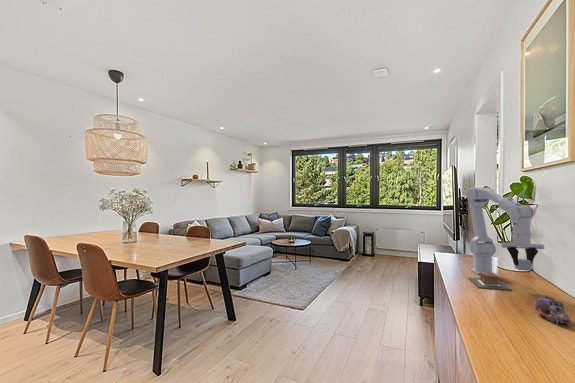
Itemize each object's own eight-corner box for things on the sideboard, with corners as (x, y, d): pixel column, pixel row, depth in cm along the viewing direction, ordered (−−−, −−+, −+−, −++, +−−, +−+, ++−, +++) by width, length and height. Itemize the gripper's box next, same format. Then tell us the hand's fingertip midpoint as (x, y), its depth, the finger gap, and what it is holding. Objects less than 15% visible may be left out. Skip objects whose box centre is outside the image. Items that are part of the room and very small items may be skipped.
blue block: (514, 267, 117) (514, 258, 117) (526, 268, 116) (525, 258, 116) (519, 269, 113) (518, 260, 113) (531, 270, 112) (530, 261, 112)
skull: (578, 330, 80) (578, 309, 80) (544, 324, 83) (543, 305, 83) (561, 314, 90) (561, 296, 90) (532, 310, 94) (531, 292, 94)
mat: (468, 278, 129) (468, 277, 129) (498, 280, 125) (498, 279, 125) (478, 288, 116) (478, 286, 116) (512, 290, 112) (511, 289, 112)
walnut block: (480, 280, 123) (480, 272, 124) (493, 281, 122) (493, 272, 122) (484, 284, 119) (484, 275, 119) (497, 285, 117) (497, 276, 117)
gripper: (504, 234, 114) (506, 266, 113) (548, 235, 109) (549, 268, 109) (498, 232, 120) (499, 262, 120) (538, 233, 115) (539, 264, 115)
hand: (522, 265), depth 115 cm, fingers closed on blue block, 4 cm apart
